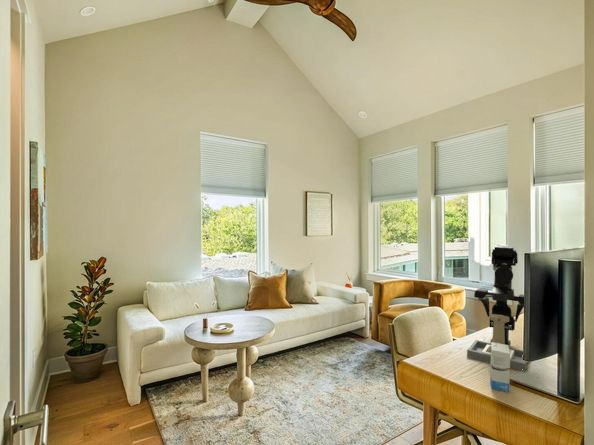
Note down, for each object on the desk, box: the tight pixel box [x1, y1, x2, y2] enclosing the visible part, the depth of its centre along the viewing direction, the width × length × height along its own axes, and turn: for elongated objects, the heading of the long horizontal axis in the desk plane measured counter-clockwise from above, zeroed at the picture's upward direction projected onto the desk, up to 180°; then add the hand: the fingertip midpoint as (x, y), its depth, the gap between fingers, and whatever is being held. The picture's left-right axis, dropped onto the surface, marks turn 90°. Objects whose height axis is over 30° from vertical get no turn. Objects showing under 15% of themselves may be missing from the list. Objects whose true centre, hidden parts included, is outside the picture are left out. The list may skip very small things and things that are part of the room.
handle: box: [489, 314, 509, 344], centre depth 125 cm, size 5×6×15 cm
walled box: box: [466, 339, 529, 371], centre depth 125 cm, size 14×18×2 cm
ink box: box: [489, 342, 511, 393], centre depth 104 cm, size 8×5×12 cm, turn 151°
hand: (501, 319), depth 130 cm, fingers open, 9 cm apart
